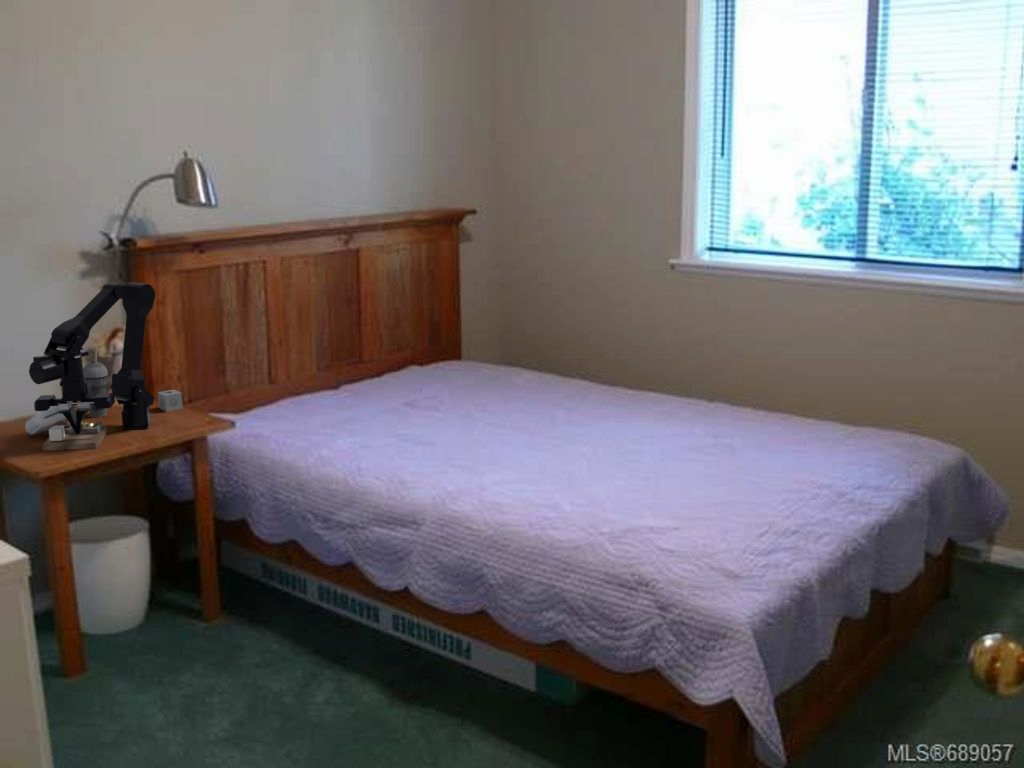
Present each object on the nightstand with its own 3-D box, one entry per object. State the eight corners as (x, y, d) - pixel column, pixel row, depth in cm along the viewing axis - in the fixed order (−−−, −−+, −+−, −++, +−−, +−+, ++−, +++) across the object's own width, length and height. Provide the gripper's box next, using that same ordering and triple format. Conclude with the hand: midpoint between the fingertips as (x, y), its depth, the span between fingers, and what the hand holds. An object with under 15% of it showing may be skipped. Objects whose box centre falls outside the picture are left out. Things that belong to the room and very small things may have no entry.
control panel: (107, 432, 297) (106, 422, 296) (95, 448, 283) (94, 437, 283) (56, 434, 295) (55, 424, 294) (42, 450, 282) (41, 439, 281)
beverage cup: (93, 411, 317) (86, 343, 312) (117, 412, 316) (110, 344, 311) (80, 418, 310) (72, 349, 305) (104, 419, 309) (97, 349, 304)
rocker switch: (72, 424, 294) (72, 421, 294) (67, 425, 290) (67, 422, 290) (61, 424, 294) (61, 421, 294) (56, 425, 289) (56, 422, 289)
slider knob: (65, 437, 287) (63, 426, 286) (62, 440, 284) (61, 429, 283) (53, 437, 286) (51, 426, 285) (50, 441, 283) (48, 429, 282)
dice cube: (175, 406, 323) (174, 389, 322) (182, 409, 319) (181, 392, 318) (159, 409, 320) (157, 392, 319) (166, 412, 316) (164, 395, 315)
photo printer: (57, 408, 301) (71, 398, 291) (65, 422, 301) (78, 412, 291) (21, 422, 294) (34, 412, 285) (29, 437, 294) (41, 427, 285)
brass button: (96, 428, 295) (95, 421, 294) (93, 432, 292) (92, 424, 291) (83, 429, 294) (83, 421, 294) (81, 432, 291) (80, 425, 291)
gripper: (116, 366, 290) (122, 423, 294) (42, 369, 288) (49, 426, 292) (107, 377, 280) (113, 435, 284) (30, 379, 277) (37, 439, 281)
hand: (78, 433), depth 285 cm, fingers closed
